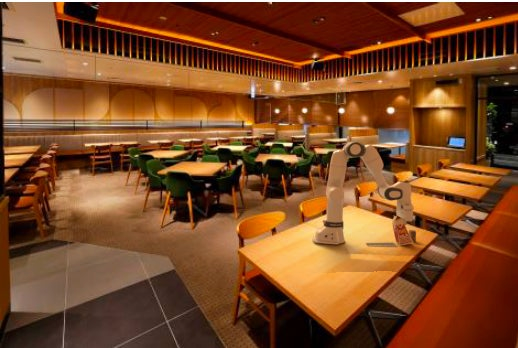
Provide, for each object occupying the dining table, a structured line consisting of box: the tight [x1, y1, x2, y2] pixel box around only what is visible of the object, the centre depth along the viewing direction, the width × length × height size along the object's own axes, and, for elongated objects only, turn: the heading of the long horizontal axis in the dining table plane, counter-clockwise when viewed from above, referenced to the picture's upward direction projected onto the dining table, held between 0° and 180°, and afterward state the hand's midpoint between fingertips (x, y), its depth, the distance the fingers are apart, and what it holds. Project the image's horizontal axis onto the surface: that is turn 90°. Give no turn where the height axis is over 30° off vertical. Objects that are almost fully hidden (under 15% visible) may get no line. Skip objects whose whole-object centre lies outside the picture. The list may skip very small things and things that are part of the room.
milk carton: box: [391, 215, 415, 247], centre depth 195 cm, size 9×9×20 cm
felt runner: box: [365, 241, 398, 248], centre depth 195 cm, size 19×9×1 cm, turn 82°
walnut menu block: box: [408, 229, 417, 243], centre depth 199 cm, size 4×4×8 cm
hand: (404, 224), depth 194 cm, fingers closed, pressing on milk carton
